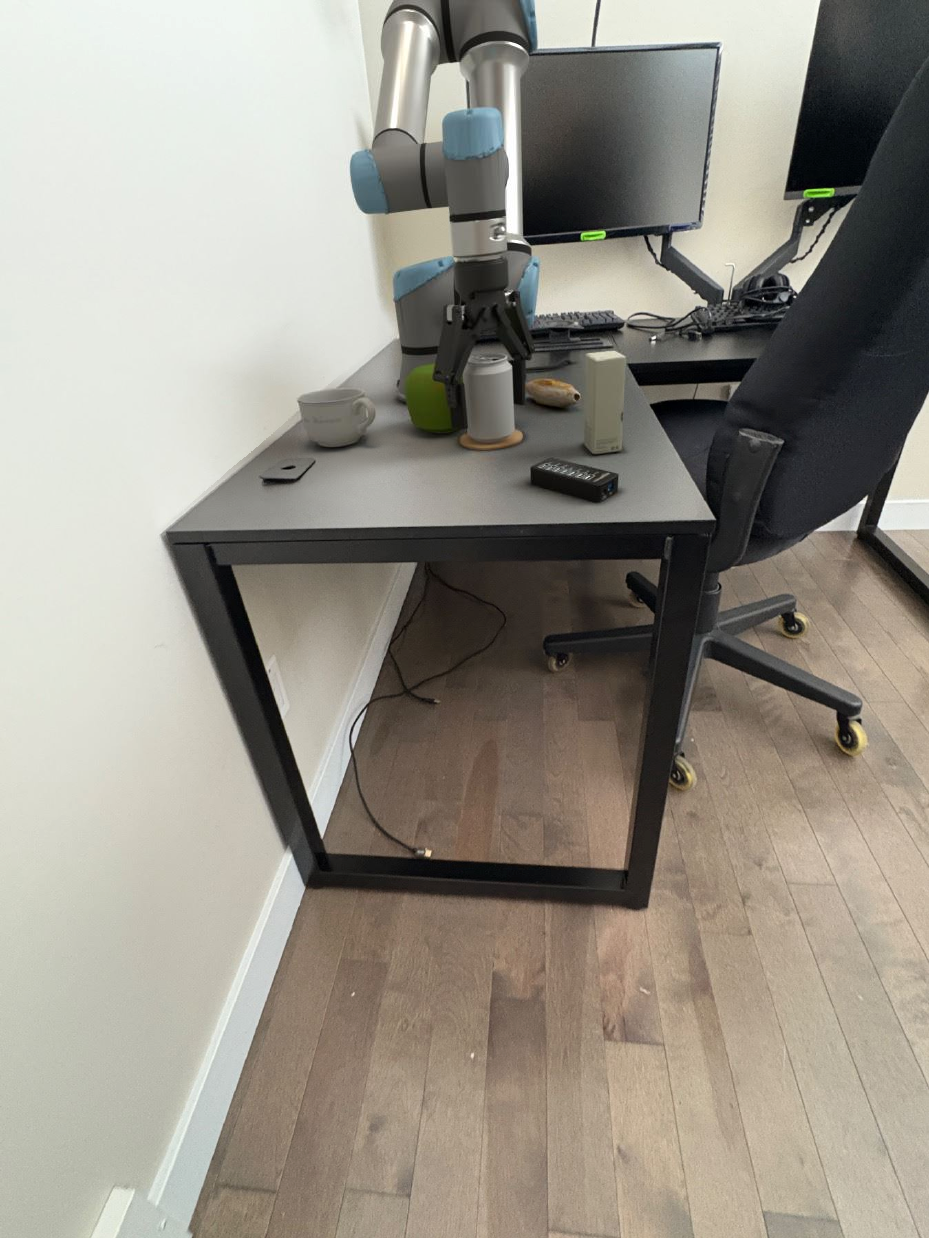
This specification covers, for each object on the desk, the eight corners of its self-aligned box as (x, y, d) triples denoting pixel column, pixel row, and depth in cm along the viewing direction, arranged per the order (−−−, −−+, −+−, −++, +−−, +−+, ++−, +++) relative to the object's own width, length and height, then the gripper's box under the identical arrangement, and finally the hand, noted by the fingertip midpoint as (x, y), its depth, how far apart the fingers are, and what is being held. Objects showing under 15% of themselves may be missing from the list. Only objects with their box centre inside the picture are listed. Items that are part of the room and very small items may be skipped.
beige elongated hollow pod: (540, 393, 115) (539, 369, 112) (587, 409, 104) (588, 383, 102) (517, 399, 113) (516, 375, 110) (563, 416, 102) (563, 389, 100)
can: (511, 444, 92) (507, 361, 85) (463, 445, 93) (456, 363, 86) (517, 428, 97) (515, 349, 91) (472, 429, 99) (466, 352, 92)
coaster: (488, 425, 101) (488, 423, 101) (535, 435, 95) (535, 432, 95) (447, 443, 96) (447, 440, 96) (494, 454, 90) (494, 451, 90)
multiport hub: (550, 473, 82) (550, 456, 81) (619, 491, 75) (620, 473, 74) (529, 483, 80) (528, 467, 78) (598, 503, 73) (599, 485, 71)
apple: (397, 435, 102) (387, 367, 95) (436, 416, 109) (428, 352, 102) (450, 442, 96) (443, 371, 90) (487, 422, 103) (483, 355, 97)
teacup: (295, 446, 101) (283, 397, 97) (346, 427, 107) (337, 381, 103) (345, 461, 93) (335, 408, 88) (397, 440, 99) (390, 390, 95)
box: (622, 452, 86) (628, 356, 79) (592, 456, 86) (595, 360, 78) (610, 440, 90) (615, 349, 83) (582, 444, 90) (584, 352, 83)
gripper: (433, 270, 72) (451, 443, 84) (557, 246, 86) (557, 397, 98) (393, 270, 77) (415, 435, 89) (517, 247, 91) (521, 392, 103)
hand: (489, 415), depth 94 cm, fingers open, 13 cm apart
